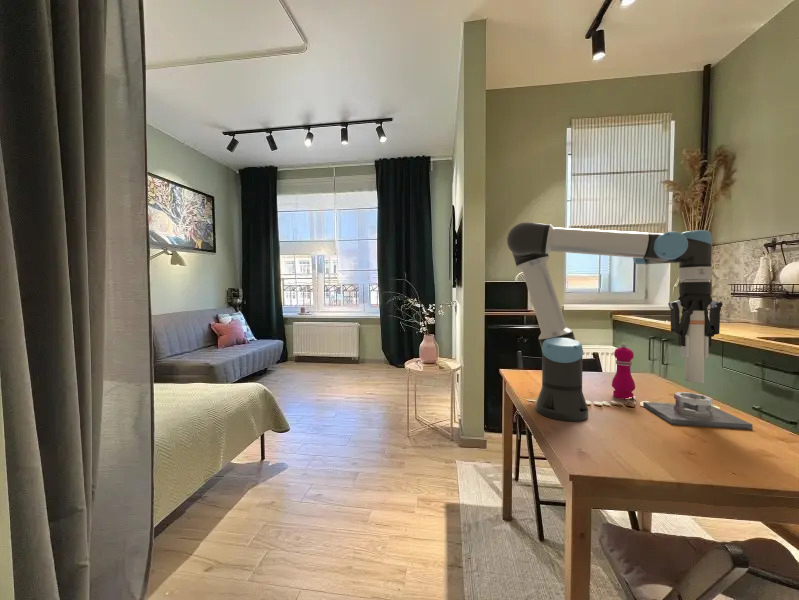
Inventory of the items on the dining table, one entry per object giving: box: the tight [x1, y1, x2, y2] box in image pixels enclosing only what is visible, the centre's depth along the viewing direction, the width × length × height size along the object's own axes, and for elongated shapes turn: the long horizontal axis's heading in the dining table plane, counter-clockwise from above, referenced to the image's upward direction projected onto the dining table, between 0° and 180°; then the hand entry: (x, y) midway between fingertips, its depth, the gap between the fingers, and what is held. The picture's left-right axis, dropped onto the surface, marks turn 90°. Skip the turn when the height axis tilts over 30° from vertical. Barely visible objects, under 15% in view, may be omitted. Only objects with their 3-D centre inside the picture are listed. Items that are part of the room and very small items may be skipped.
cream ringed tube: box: [684, 311, 705, 384], centre depth 104 cm, size 4×4×22 cm
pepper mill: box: [611, 343, 636, 400], centre depth 124 cm, size 7×7×20 cm
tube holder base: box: [642, 391, 753, 430], centre depth 104 cm, size 20×16×6 cm
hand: (694, 356), depth 104 cm, fingers closed on cream ringed tube, 4 cm apart
